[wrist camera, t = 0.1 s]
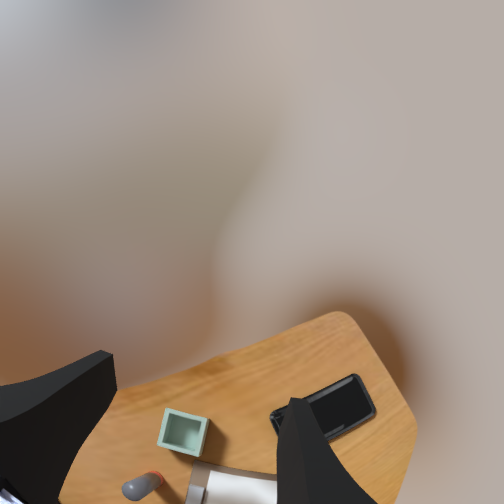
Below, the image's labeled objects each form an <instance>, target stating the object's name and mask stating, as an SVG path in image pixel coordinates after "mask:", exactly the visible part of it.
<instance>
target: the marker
mask: <svg viewBox="0 0 504 504" xmlns="http://www.w3.org/2000/svg"><path fill="white" fill-rule="evenodd" d="M162 483H163V477H162V475H161V474H160V473H158V472H156V471H150V472H148V473H146V474H144V475H142V476H140V477H137V478H135V479H133V480H131V481H128V482H126V483H124V484H123V486H122V493H123V495H124V496H125V497H126V498H127V499H129V500H131V501H139V500H141V499H142V498H143V497H145V496H146V495H148V494H149V493H151V492H152V491H153V490H155V489H156V488H158V487H159V486H160V485H162Z"/></svg>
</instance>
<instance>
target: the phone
mask: <svg viewBox="0 0 504 504" xmlns="http://www.w3.org/2000/svg"><path fill="white" fill-rule="evenodd" d="M302 399H307V401H308V402H309V404H310V407H311V409H312V412H313V414H314V416H315V418H316V420H317V423H318V425H319V427H320V429H321V431H322V433H323V434H324V436H325V438H326V440H327V441H329V440H331V439H333V438H335V437H337V436H338V435H340V434H342V433H344V432H346V431H348V430H349V429H351V428H353V427H355V426H356V425H358V424H360V423H361V422H363V421H365V420H366V419H368V418H370V417H371V416H373V415H374V413H375V406H374V404H373V402H372V400H371V398H370V396H369V394H368V392H367V390H366V388H365V386H364V384H363V382H362V380H361V378H360V376H359V375H358V374H351V375H349V376H347V377H345V378H343V379H341V380H339V381H337V382H335V383H333V384H331V385H329V386H327V387H325V388H323V389H321V390H319V391H317V392H315V393H313V394H311V395H309V396H307V397H304V398H302ZM287 407H288V405H286V406H284V407H282V408H279V409H277V410H275V411H273V412H272V413H271V414H270V421H271V423H272V425H273V428H274V430H275V432H276V434H277V436H278V435H279V429H280V427H281V424H282V421H283V418H284V416H285V413H286V410H287Z"/></svg>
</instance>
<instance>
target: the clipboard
mask: <svg viewBox="0 0 504 504" xmlns="http://www.w3.org/2000/svg"><path fill="white" fill-rule="evenodd" d="M185 504H277V475H276V474H267V473H260V472H253V471H246V470H240V469H235V468H229V467H224V466H219V465H215V464H210V463H206V462H202V461H198V460H194V464H193V469H192V473H191V478H190V482H189V486H188V491H187V495H186V500H185Z"/></svg>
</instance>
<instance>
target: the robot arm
mask: <svg viewBox="0 0 504 504" xmlns="http://www.w3.org/2000/svg"><path fill="white" fill-rule="evenodd" d="M116 391H117V385H116V377H115V369H114V360H113V354H111V353H108V352H105V351H102V350H99V351H97V352H95V353H93V354H90V355H88V356H86V357H84V358H82V359H80V360H78V361H76V362H74V363H72V364H69V365H67V366H65V367H63V368H60V369H58V370H55V371H53V372H51V373H48V374H45V375H43V376H40V377H37V378H34V379H31V380H28V381H24V382H20V383H15V384H10V385H4V386H0V504H23V503H25V504H56V503H57V500H58V497H59V494H60V491H61V488H62V486H63V483H64V480H65V478H66V476H67V474H68V471H69V469H70V467H71V465H72V463H73V461H74V459H75V457H76V455H77V453H78V451H79V449H80V448H81V446H82V444H83V443H84V441H85V440H86V438H87V437H88V436H89V434H90V433H91V431H92V430H93V429H94V427H95V426H96V424H97V423H98V422H99V420H100V419H101V417H102V416H103V415H104V413H105V412H106V410H107V409H108V407H109V405H110V403H111V402H112V400H113V398H114V396H115V394H116ZM22 502H23V503H22ZM277 504H378V503H376V502H375V501H374V500H373V499H372V498H371V497H370V496H369V495H368V494H367V493H366V492H365V491H364V490H363V489H362V488H361V487H360V486H359V485H358V484H357V483H356V482H355V480H354V479H353V478H352V477H351V476H350V474H349V473H348V472H347V471H346V469H345V468H344V467H343V465H342V464H341V462H340V461H339V460H338V458H337V456H336V455H335V453H334V452H333V450H332V449H331V447H330V445H329V444H328V442H327V440H326V438H325V436H324V434H323V433H322V431H321V429H320V427H319V425H318V423H317V420H316V418H315V416H314V414H313V412H312V409H311V407H310V404H309V402H308V401H307V399H300V398H292V397H291V398H290V401H289V404H288V407H287V410H286V413H285V416H284V418H283V421H282V424H281V427H280V429H279V435H278V444H277Z"/></svg>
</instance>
